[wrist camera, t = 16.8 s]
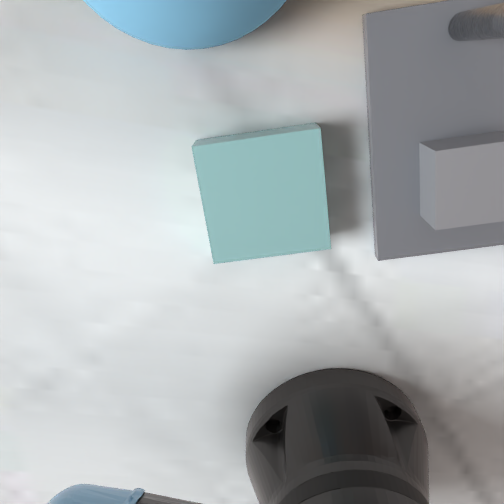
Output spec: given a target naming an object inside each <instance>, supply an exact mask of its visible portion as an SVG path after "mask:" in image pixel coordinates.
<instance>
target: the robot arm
mask: <svg viewBox="0 0 504 504" xmlns="http://www.w3.org/2000/svg"><path fill="white" fill-rule="evenodd" d="M246 465H247V470H248V474H249V477H250V480H251V483H252V485H253V488H254V491H255V493H256V496H257V498H258V501H259V504H429V469H428V444H427V439H426V435H425V431H424V429H423V426H422V424H421V422H420V419H419V417H418V415H417V413H416V410H415V408H414V406H413V405H412V403H411V402H410V400H409V399H408V398H407V397H406V396H405V394H404V393H403V392H401V391H400V390H399V389H398V388H397V387H395V386H394V385H393V384H391V383H390V382H388V381H386V380H384V379H382V378H380V377H378V376H375V375H372V374H369V373H366V372H361V371H356V370H348V369H328V370H320V371H315V372H310V373H307V374H304V375H301V376H298V377H295V378H293V379H291V380H289V381H287V382H285V383H283V384H282V385H280V386H279V387H277V388H276V389H274V390H273V391H272V392H270V393H269V394H268V395H267V396H266V397H265V398H264V399H263V400H262V401H261V403H260V404H259V405H258V406H257V408H256V409H255V411H254V413H253V415H252V417H251V419H250V422H249V424H248V428H247V434H246ZM144 491H145V490H143V489H141V488H137V489H134V490H133V491H132V490H125V489H118V488H111V487H104V486H97V485H90V484H79V485H74V486H71V487H69V488H67V489H65V490H63V491H61V492H60V493H58V494H57V495H56V496H55V497H53V498H52V499H51V500H50V501H49V502H48V503H47V504H201V503H196V502H191V501H186V500H181V499H176V498H171V497H166V496H161V495H156V494H151V493H146V492H144Z"/></svg>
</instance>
